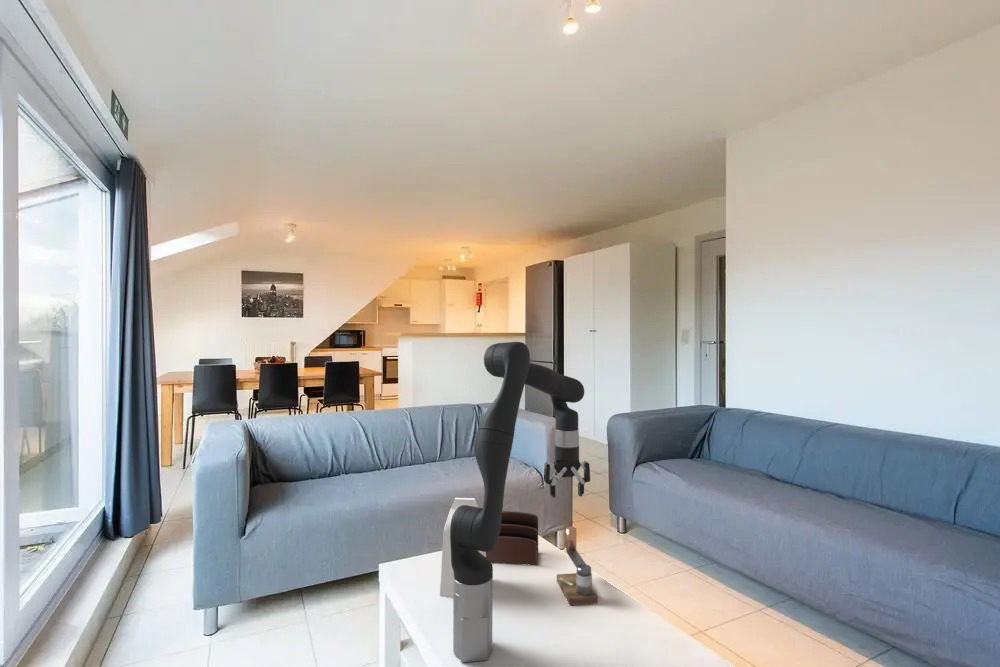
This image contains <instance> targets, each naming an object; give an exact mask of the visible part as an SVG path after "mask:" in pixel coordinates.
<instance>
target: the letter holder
mask: <svg viewBox="0 0 1000 667" xmlns="http://www.w3.org/2000/svg"><path fill="white" fill-rule="evenodd" d="M486 558H487V559H488V560H489V561H490V562H491V563H492V564H503V563H506V564H507V565H509V564H511V565H522V564H527V565H526V566H538V561H539V517H538V515H536V514H534V513H528V512H523V511H521V512H520V511H509V510H504V511H503V510H502V520H501V528H500V533H499V538H498V541H497V543H496V545H495V547H494V549H493V550H491V551H490V552H486ZM506 564H505V565H506ZM528 564H530V565H528Z"/></svg>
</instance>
